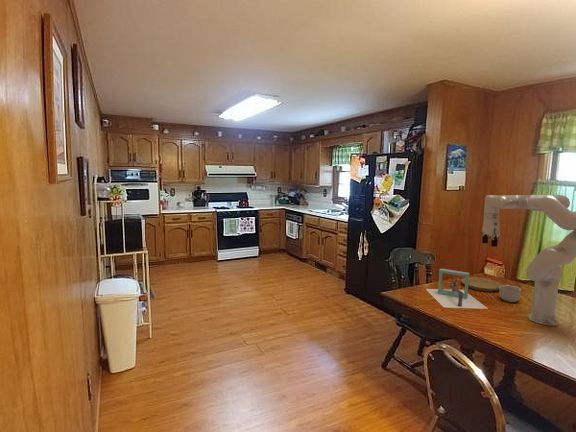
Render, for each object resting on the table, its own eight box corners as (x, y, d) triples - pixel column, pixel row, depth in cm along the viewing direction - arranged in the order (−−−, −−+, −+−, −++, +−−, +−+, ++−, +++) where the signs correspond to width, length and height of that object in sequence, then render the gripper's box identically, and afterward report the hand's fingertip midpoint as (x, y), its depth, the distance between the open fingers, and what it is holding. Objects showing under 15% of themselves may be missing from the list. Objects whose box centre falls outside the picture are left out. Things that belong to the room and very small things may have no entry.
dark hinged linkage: (462, 306, 184) (463, 292, 183) (452, 305, 186) (453, 291, 185) (455, 291, 208) (456, 279, 207) (446, 291, 209) (447, 278, 208)
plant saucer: (455, 286, 223) (455, 281, 223) (468, 279, 239) (469, 274, 238) (495, 296, 205) (495, 291, 205) (507, 287, 221) (507, 282, 220)
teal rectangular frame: (466, 299, 195) (468, 274, 193) (437, 293, 204) (439, 270, 202) (467, 296, 200) (469, 272, 198) (439, 291, 209) (440, 268, 207)
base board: (488, 311, 182) (488, 308, 181) (443, 309, 183) (443, 307, 183) (463, 292, 211) (463, 289, 211) (425, 291, 213) (425, 288, 213)
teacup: (519, 305, 190) (520, 292, 189) (497, 301, 197) (498, 288, 196) (520, 298, 201) (521, 285, 200) (499, 294, 208) (500, 282, 207)
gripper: (506, 217, 184) (504, 247, 186) (489, 214, 201) (487, 242, 203) (493, 217, 184) (491, 247, 186) (477, 214, 201) (475, 241, 203)
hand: (489, 244), depth 195 cm, fingers open, 9 cm apart
